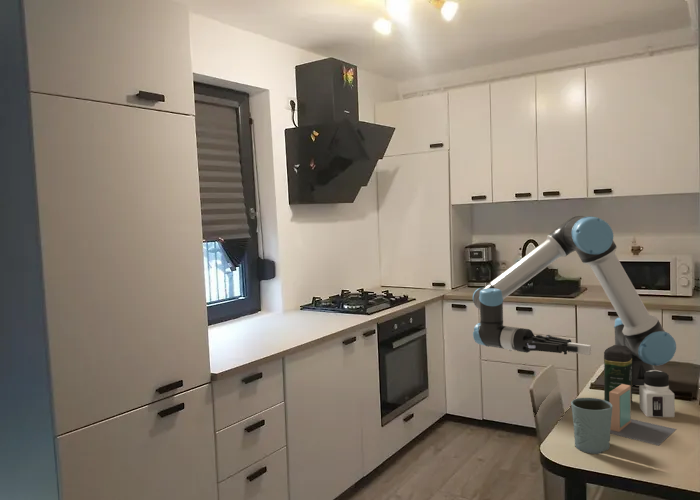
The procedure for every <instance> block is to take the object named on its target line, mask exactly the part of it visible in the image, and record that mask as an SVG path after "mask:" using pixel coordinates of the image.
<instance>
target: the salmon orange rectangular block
mask: <svg viewBox="0 0 700 500" xmlns="http://www.w3.org/2000/svg"><path fill="white" fill-rule="evenodd" d="M609 401H610V403H611V404H612V406H613V407H612V417H611V428H610V430H613V431H617V432H619V431H620V430H622V429H623V428H624V427H626V426H627V425H628V424H629V423H631V419H632V403H631V385H625V384H621V385H620V386H618V387H616V388H615V389H613V390H612V391H610V392H609Z"/></svg>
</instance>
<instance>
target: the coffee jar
mask: <svg viewBox="0 0 700 500" xmlns="http://www.w3.org/2000/svg"><path fill="white" fill-rule="evenodd" d="M603 367H604V369H603V370H604V372H603V373H604V374H603V375H604V378H603V379H604V383H603V384H604V390H603V391H604V393H603V394H604V399H603V400H605V401H608V402H610V401H609V392H610V391H612V390H613V389H615V388H616V387H618V386H620V385H621V384H625V385H631V404H633V386H632V351H631V350H630V349H629V348H628V347H627V346H621V345H615V344H613V345H612V346H609V347H607V348H606V349H604V352H603Z"/></svg>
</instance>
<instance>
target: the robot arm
mask: <svg viewBox="0 0 700 500" xmlns="http://www.w3.org/2000/svg"><path fill="white" fill-rule="evenodd" d="M617 248H618V247H617V245H616V243H615V241H614V231H613V229H612V227H611V225H610V224H609V223H608V222H607V221H605V220H603V219H602V218H599V217H596V216H583V215H578V216H572V217H571V218H569V219H566V220H565V221H564V222H563V223H561V224H560V225H559V226H558V227H557V228H555V229H554V230H553V231H551V232H550V233H549V234H547V236H546V240H545V241H543V242H541V243H540V244H539V245H538V246H536V247H535V248H534V249H532V250H531V251H530V252H528V253H527V254H526V255H524V256H523V257H522V258H520V259H519V260H517V262H515V263H514V264H512V265H511V266H510V267H508V268H507V269H506V270H504V271H503V272H502V273H501V274H499V275H498V276H497V277H496V278H494V279H493V280H491V281H490V282H489V283H487V284H486V285H485V286H483V287H479V288H477V289H475V290H474V292H473V294H472V301H473V304H474V306H475V308H477V309H478V310H479V316H480V322H478V323H476V324H475V325H474V327H473V331H472V338H473V340H474V342H475V343H476V344H477V345H481V346H485V347H491V348H498V349H502V350H503V349H504V350H508V351H509V352H513V351H514V352H516V351H517V352H521V353H525V354H526V353H530V352H534V351H535V352H546V353H556V354H557V353H558V354H562V353H563V355H568V353H573V354H579V355H585V356H591V355H592V345H591V344H586V343H585V344H583V343H579V342H578V343H577V342H572V340H571V339H566V338H561V337H557V336H554V335H550V334H546V335H545V336H544V335H542V334H536V335H535V334H534V332H533V331H532V330H531V329H529V328H521V327H517V326H516V327H515V326H507V325H504V303H503V302H504V299H506V298H507V297H508V296H510V295H511V294H512V293H514V292H516V290H518V289H519V288H521V287H522V286H523V285H525V284H526V283H527V282H529V281H530V280H531V279H532V278H534V277H535V276H537V275H538V274H539V273H541V272H542V271H544V270H545V269H546V268H548V267H549V266H550V265H551V264H553V263H554V262H555V261H557V260H558V259H559V258H561V257H562V258H565V257H567V256H569V255H570V254H571V253H573V252H576V253H577V256H578V257H579V258H580V260H581V262H582V264H585V265H587V266H589V267H590V269H591V270H592V272H593V274H594V275H595V277H596V279H597V280H598V283H599V284H600V286H601V288H602V289H603V291H604V294H605V295H606V297H607V298H608V300H609V302H610V303H611V305H612V307H613V310H615V311H616V314H617V316H618V317H617V318H615V319H614V326H613V328H614V345H621V346H627V347H628V348H629V349H630V350H631V351H632V385H644V373H645V372H647V371H650V370H656V369H655V366H656V367H657V366H663V365H665V364H667V363H669V362H670V361H671V360H672V359H673V358H674V356H675V354H676V351H677V343H676V339H675V338H674V337H673V336H672V335H671V334H670V333H669V332H668V331H665V329H664V328H663V325H662V324H661V322H660V320H659V319H658V317H657V316H654V315H651V314H650V313H649V311H648V309H647V307H646V306H645V304H644V302H643V301H642V299H641V297H640V295H639V293H638V291H637V289H636V288H635V286H634V285H633V282H632V280H631V279H630V277H629V276H628V274H627V273H626V270H625V268H624V267H623V265H622V263H621V262H620V260H619V258H618V257H617V254H616V251H617Z"/></svg>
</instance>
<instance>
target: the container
mask: <svg viewBox="0 0 700 500" xmlns="http://www.w3.org/2000/svg"><path fill="white" fill-rule="evenodd" d="M669 377H670V376H669V374H668V373H667V372H665V371H662V370H657V369H655V370H650V371H647V372H645V373H644V385H640V386H639V387H638V388H639V389H638V390H639V392H638V395H639V398H638V399H639V409H640V410H641V412H642V413H643V414H644V415H645V416H646V417H648V418H650V417H652V418H675V416H676V415H675V414H676V413H675V407H676V405H675V393H674V392H673V391H672V390H671V389H670V383H669V381H670V380H669V379H670V378H669Z"/></svg>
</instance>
